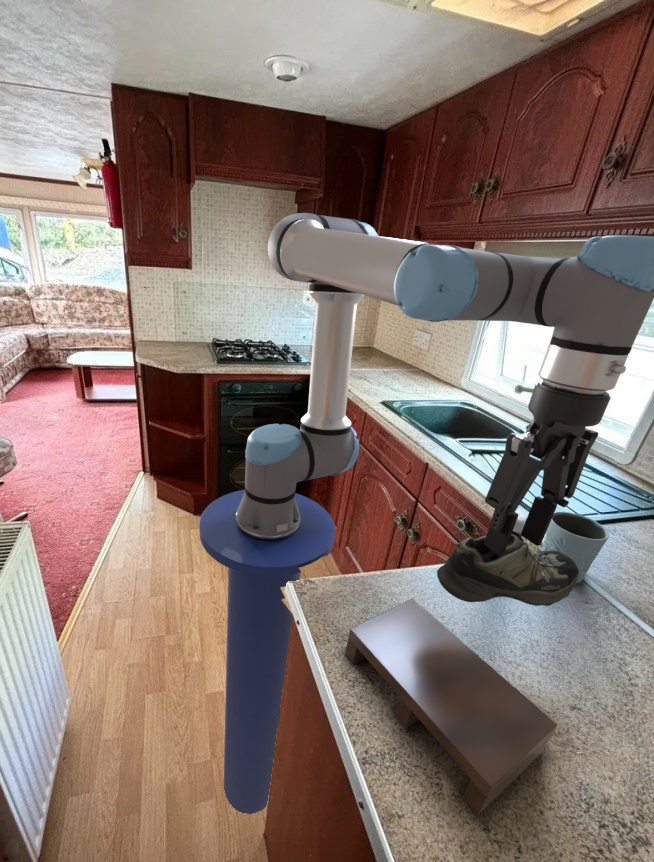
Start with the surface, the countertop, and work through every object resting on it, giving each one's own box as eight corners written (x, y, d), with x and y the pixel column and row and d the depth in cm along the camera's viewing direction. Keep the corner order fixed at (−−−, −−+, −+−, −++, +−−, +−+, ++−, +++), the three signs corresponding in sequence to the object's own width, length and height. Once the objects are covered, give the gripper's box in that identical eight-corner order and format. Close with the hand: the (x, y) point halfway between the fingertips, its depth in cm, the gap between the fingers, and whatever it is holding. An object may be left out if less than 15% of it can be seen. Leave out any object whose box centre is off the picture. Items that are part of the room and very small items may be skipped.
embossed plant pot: (596, 579, 86) (619, 533, 81) (568, 592, 82) (591, 544, 77) (550, 551, 95) (569, 507, 90) (522, 561, 90) (540, 516, 85)
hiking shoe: (590, 603, 59) (616, 552, 55) (457, 615, 56) (475, 562, 52) (547, 564, 67) (567, 517, 63) (428, 573, 63) (441, 523, 59)
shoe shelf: (344, 655, 65) (349, 628, 63) (405, 623, 72) (412, 598, 69) (476, 816, 47) (491, 787, 44) (541, 753, 53) (557, 724, 51)
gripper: (546, 399, 41) (482, 576, 50) (658, 391, 48) (583, 547, 57) (486, 379, 47) (439, 541, 56) (593, 375, 54) (536, 518, 64)
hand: (512, 544), depth 57 cm, fingers closed on hiking shoe, 7 cm apart
